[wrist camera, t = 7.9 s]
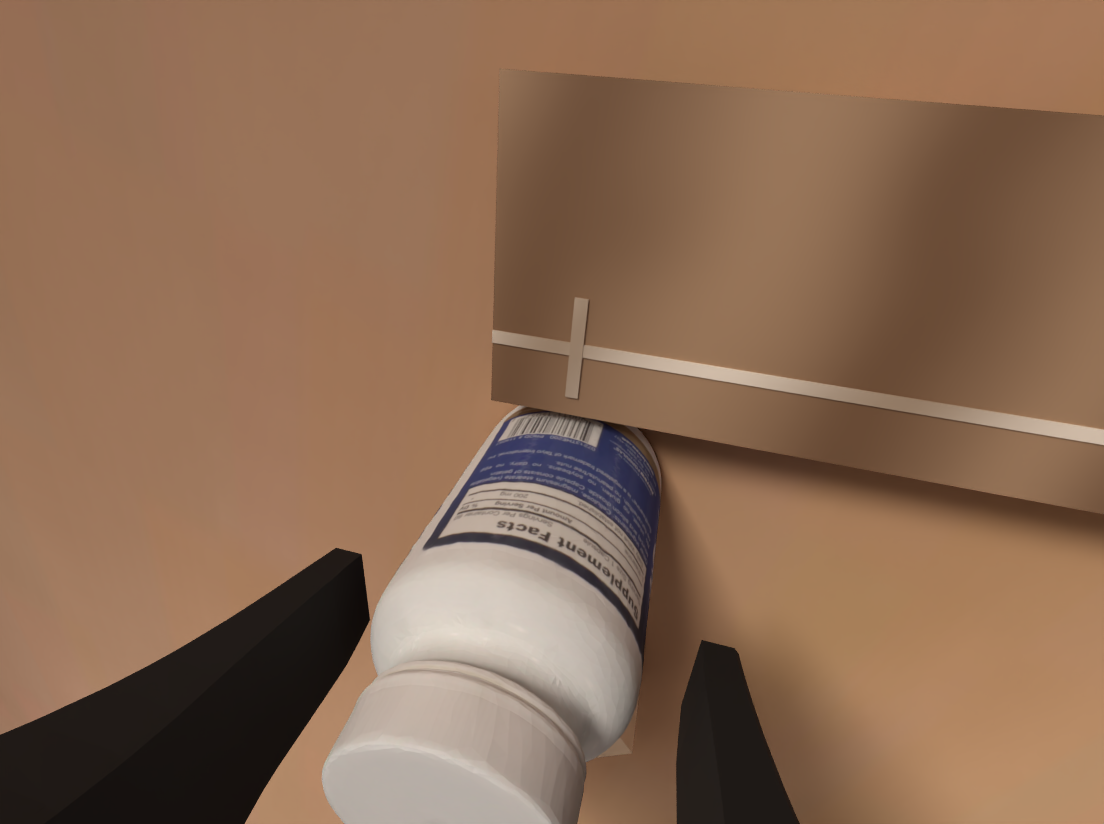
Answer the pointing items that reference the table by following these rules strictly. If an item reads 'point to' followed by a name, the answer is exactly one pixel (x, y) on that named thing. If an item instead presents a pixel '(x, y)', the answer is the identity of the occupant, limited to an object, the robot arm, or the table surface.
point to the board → (808, 276)
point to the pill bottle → (509, 633)
